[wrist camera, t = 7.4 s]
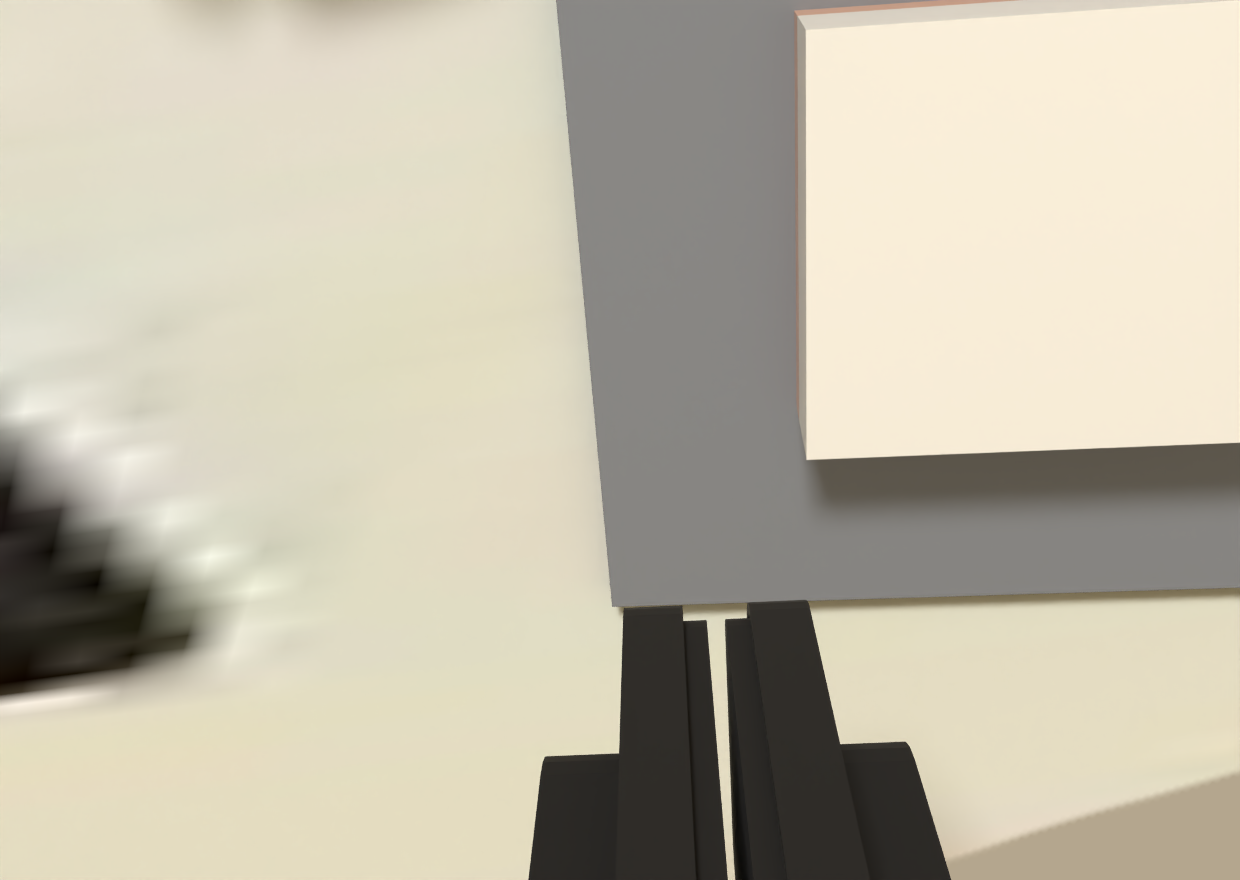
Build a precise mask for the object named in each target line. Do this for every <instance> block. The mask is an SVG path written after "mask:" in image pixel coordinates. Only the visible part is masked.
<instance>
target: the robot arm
mask: <svg viewBox="0 0 1240 880" xmlns="http://www.w3.org/2000/svg"><path fill="white" fill-rule="evenodd" d="M725 636H726V664H727V692H728V719H729V746H730V774H731V802H732V829H733V851H734V867H735V880H951V878H950V875H949V871H948V868H947V865H946V861H945V858H944V855H943V851H942V848H941V845H940V841H939V838H938V835H937V832H936V828H935V825H934V822H933V818H932V815H931V812H930V808H929V805H928V802H927V799H926V795H925V792H924V789H923V785H922V782H921V779H920V775H919V772H918V769H917V765H916V762H915V759H914V757H913V754H912V751H911V749H910V747H909V745H908V744H907V743H906V742H887V743H863V744H840V742H839V737H838V733H837V728H836V724H835V719H834V715H833V710H832V706H831V701H830V697H829V692H828V688H827V683H826V679H825V674H824V670H823V665H822V661H821V656H820V652H819V647H818V643H817V638H816V634H815V629H814V625H813V620H812V616H811V611H810V607H809V604H808V601H807V600H788V601H767V602H748V604H747V618H743V619H725ZM529 880H728V877H727V864H726V852H725V840H724V828H723V815H722V803H721V791H720V779H719V767H718V754H717V742H716V730H715V718H714V705H713V693H712V681H711V669H710V656H709V644H708V632H707V621H706V620H699V621H683V610H682V605H681V606H660V607H639V608H624V613H623V644H622V678H621V712H620V746H619V754H595V755H571V756H547V757H545V759H544V761H543V764H542V770H541V776H540V785H539V794H538V802H537V811H536V820H535V828H534V837H533V846H532V854H531V863H530V872H529Z"/></svg>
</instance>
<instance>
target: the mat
mask: <svg viewBox="0 0 1240 880" xmlns="http://www.w3.org/2000/svg"><path fill="white" fill-rule="evenodd" d="M924 1H938V0H556V3H557V14H558V25H559V35H560V46H561V57H562V68H563V79H564V90H565V100H566V111H567V122H568V133H569V144H570V154H571V165H572V176H573V187H574V198H575V209H576V219H577V230H578V241H579V252H580V263H581V274H582V284H583V295H584V306H585V317H586V328H587V339H588V349H589V360H590V371H591V382H592V393H593V404H594V414H595V425H596V436H597V447H598V458H599V469H600V479H601V490H602V501H603V512H604V523H605V534H606V544H607V555H608V566H609V577H610V588H611V599H612V607H619V606H652V605H685V604H718V603H748V602H767V601H788V600H807V601H816V600H849V599H882V598H914V597H947V596H980V595H1013V594H1046V593H1078V592H1111V591H1144V590H1177V589H1209V588H1240V443H1217V444H1192V445H1167V446H1142V447H1117V448H1092V449H1067V450H1042V451H1017V452H992V453H967V454H942V455H917V456H892V457H867V458H842V459H817V460H806V454H805V449H804V444H803V438H802V433H801V428H800V423H799V417H798V412H797V405H796V237H795V68H794V11H795V10H810V9H824V8H838V7H852V6H867V5H881V4H895V3H910V2H924Z"/></svg>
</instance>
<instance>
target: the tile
mask: <svg viewBox="0 0 1240 880" xmlns="http://www.w3.org/2000/svg"><path fill="white" fill-rule="evenodd" d="M794 68H795V237H796V405H797V412H798V417H799V423H800V428H801V433H802V438H803V444H804V449H805V454H806V460H817V459H842V458H867V457H892V456H917V455H942V454H967V453H992V452H1017V451H1042V450H1067V449H1092V448H1117V447H1142V446H1167V445H1192V444H1217V443H1240V0H938V1H924V2H910V3H895V4H881V5H867V6H852V7H838V8H824V9H810V10H795V11H794Z"/></svg>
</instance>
